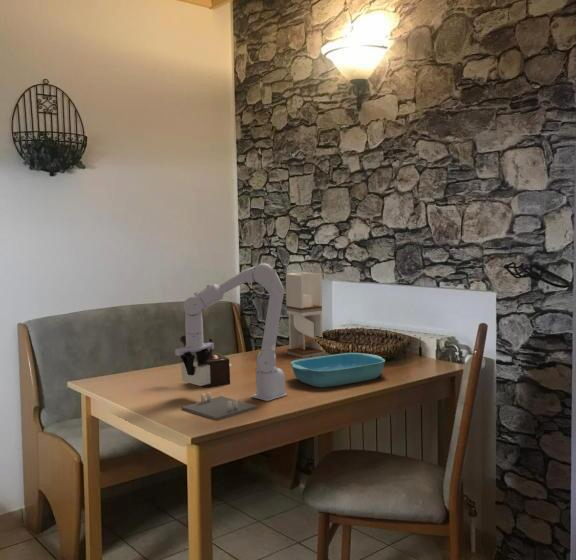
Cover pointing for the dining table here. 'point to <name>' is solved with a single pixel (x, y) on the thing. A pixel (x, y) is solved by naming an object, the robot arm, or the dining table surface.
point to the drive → (197, 374)
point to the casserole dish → (338, 369)
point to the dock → (218, 407)
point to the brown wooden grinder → (215, 367)
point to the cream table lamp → (304, 313)
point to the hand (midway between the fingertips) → (196, 373)
